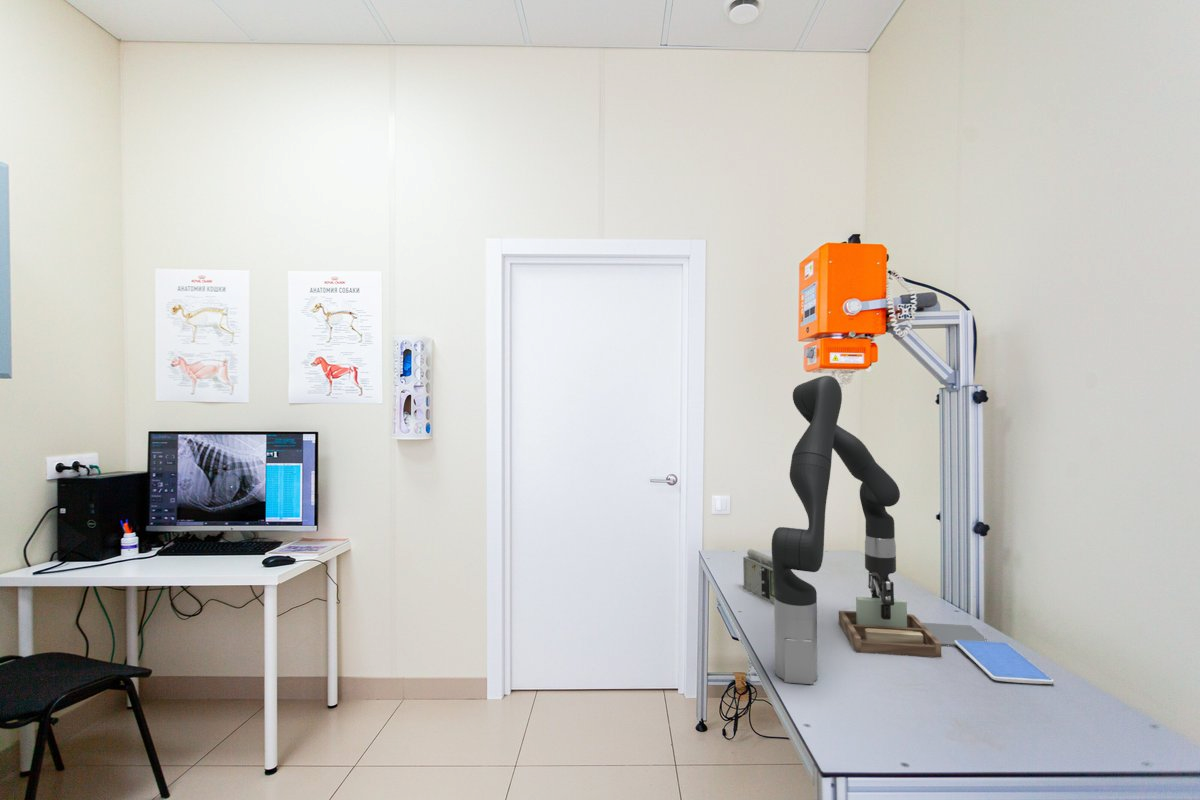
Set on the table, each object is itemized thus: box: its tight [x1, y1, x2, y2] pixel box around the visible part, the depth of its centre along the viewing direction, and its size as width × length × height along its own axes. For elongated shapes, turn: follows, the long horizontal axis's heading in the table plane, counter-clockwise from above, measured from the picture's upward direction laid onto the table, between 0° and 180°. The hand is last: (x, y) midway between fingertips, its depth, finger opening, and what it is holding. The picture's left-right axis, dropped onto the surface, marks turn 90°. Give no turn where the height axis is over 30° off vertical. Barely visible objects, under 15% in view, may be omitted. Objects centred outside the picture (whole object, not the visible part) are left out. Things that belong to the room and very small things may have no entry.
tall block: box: [855, 596, 908, 627], centre depth 153 cm, size 2×12×9 cm, turn 79°
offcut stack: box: [864, 628, 923, 644], centre depth 144 cm, size 4×13×4 cm, turn 79°
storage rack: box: [838, 610, 942, 658], centre depth 149 cm, size 19×19×4 cm
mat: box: [921, 622, 988, 647], centre depth 151 cm, size 14×14×1 cm
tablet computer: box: [954, 640, 1055, 685], centre depth 134 cm, size 19×13×1 cm, turn 171°
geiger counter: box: [742, 548, 774, 605], centre depth 179 cm, size 14×6×25 cm
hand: (880, 613), depth 153 cm, fingers open, 8 cm apart
